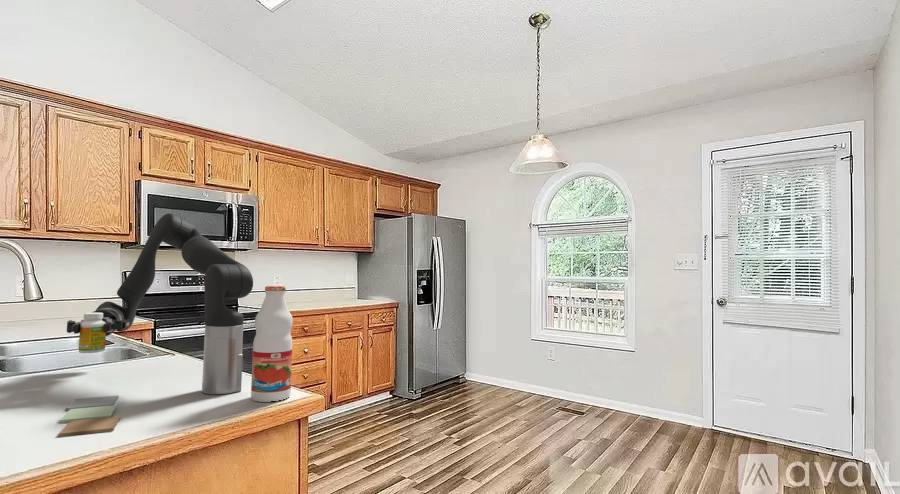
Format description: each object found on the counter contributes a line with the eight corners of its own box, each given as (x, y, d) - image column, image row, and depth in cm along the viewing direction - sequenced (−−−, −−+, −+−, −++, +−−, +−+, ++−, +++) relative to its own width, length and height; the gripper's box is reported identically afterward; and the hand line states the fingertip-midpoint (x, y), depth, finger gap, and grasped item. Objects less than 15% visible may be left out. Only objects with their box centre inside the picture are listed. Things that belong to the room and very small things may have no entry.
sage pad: (116, 407, 109) (116, 405, 109) (109, 418, 102) (109, 415, 102) (70, 411, 106) (70, 409, 106) (59, 423, 98) (59, 420, 98)
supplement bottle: (90, 354, 118) (92, 314, 119) (72, 353, 119) (74, 313, 120) (110, 350, 124) (112, 312, 124) (93, 349, 125) (94, 311, 125)
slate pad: (118, 397, 117) (118, 395, 117) (112, 407, 110) (112, 404, 110) (75, 401, 114) (75, 398, 114) (65, 411, 106) (66, 408, 106)
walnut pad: (120, 418, 102) (120, 415, 102) (113, 431, 94) (113, 427, 94) (70, 423, 98) (70, 420, 98) (58, 436, 90) (58, 433, 90)
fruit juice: (288, 391, 127) (293, 285, 128) (292, 401, 118) (296, 287, 120) (250, 394, 123) (255, 285, 124) (250, 404, 114) (256, 286, 116)
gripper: (73, 309, 132) (55, 314, 116) (135, 307, 138) (126, 312, 123) (71, 336, 131) (53, 345, 116) (134, 334, 138) (124, 342, 122)
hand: (91, 328), depth 120 cm, fingers closed on supplement bottle, 5 cm apart
